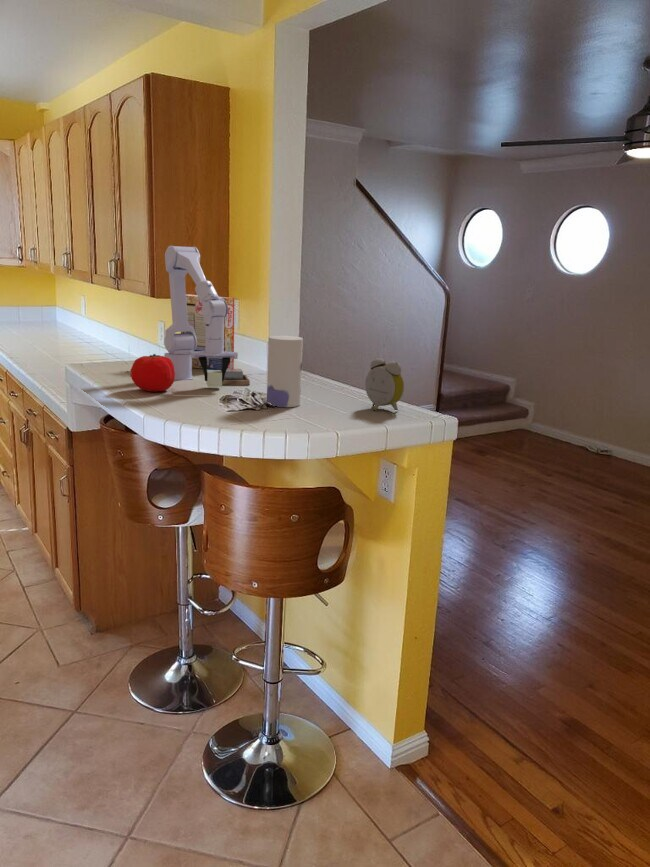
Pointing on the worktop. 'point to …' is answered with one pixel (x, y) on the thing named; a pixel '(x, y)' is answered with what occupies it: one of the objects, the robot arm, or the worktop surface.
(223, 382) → the brown wooden tray
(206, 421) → the worktop surface
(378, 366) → the alarm clock
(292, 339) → the container
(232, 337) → the cereal box
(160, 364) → the tomato
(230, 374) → the grey block
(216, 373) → the beige cube
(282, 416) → the worktop surface
